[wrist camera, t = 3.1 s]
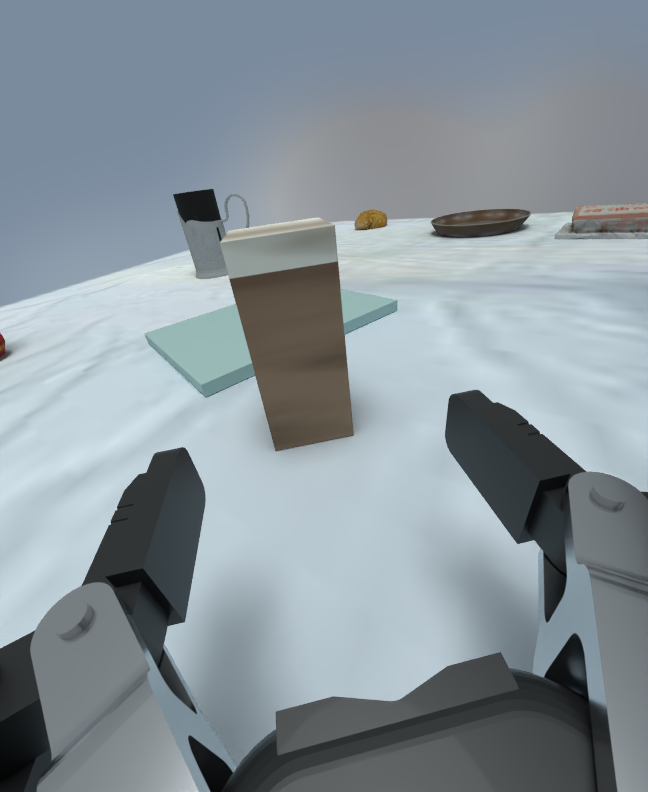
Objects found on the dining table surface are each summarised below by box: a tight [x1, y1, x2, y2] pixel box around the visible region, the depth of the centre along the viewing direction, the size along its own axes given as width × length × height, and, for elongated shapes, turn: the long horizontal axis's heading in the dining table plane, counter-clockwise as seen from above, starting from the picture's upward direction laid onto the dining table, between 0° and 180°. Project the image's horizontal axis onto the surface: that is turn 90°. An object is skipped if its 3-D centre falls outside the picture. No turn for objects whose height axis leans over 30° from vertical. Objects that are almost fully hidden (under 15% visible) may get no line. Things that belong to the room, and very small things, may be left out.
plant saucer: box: [431, 209, 531, 237], centre depth 75 cm, size 21×21×3 cm
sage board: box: [145, 289, 397, 397], centre depth 39 cm, size 24×18×1 cm
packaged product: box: [555, 204, 648, 239], centre depth 56 cm, size 18×5×10 cm
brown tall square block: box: [220, 217, 353, 451], centre depth 19 cm, size 5×5×12 cm
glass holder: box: [173, 189, 249, 279], centre depth 66 cm, size 9×14×15 cm, turn 85°
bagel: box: [355, 210, 387, 230], centre depth 102 cm, size 10×11×5 cm
